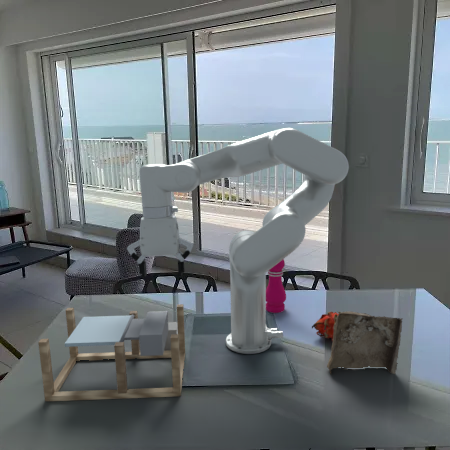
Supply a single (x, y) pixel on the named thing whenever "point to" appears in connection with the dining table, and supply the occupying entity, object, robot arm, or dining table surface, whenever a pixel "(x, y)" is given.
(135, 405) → the dining table surface
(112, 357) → the frame
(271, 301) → the pepper mill
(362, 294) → the dining table surface
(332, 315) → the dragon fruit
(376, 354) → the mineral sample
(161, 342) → the trapdoor
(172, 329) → the light grey block
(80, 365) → the dining table surface
